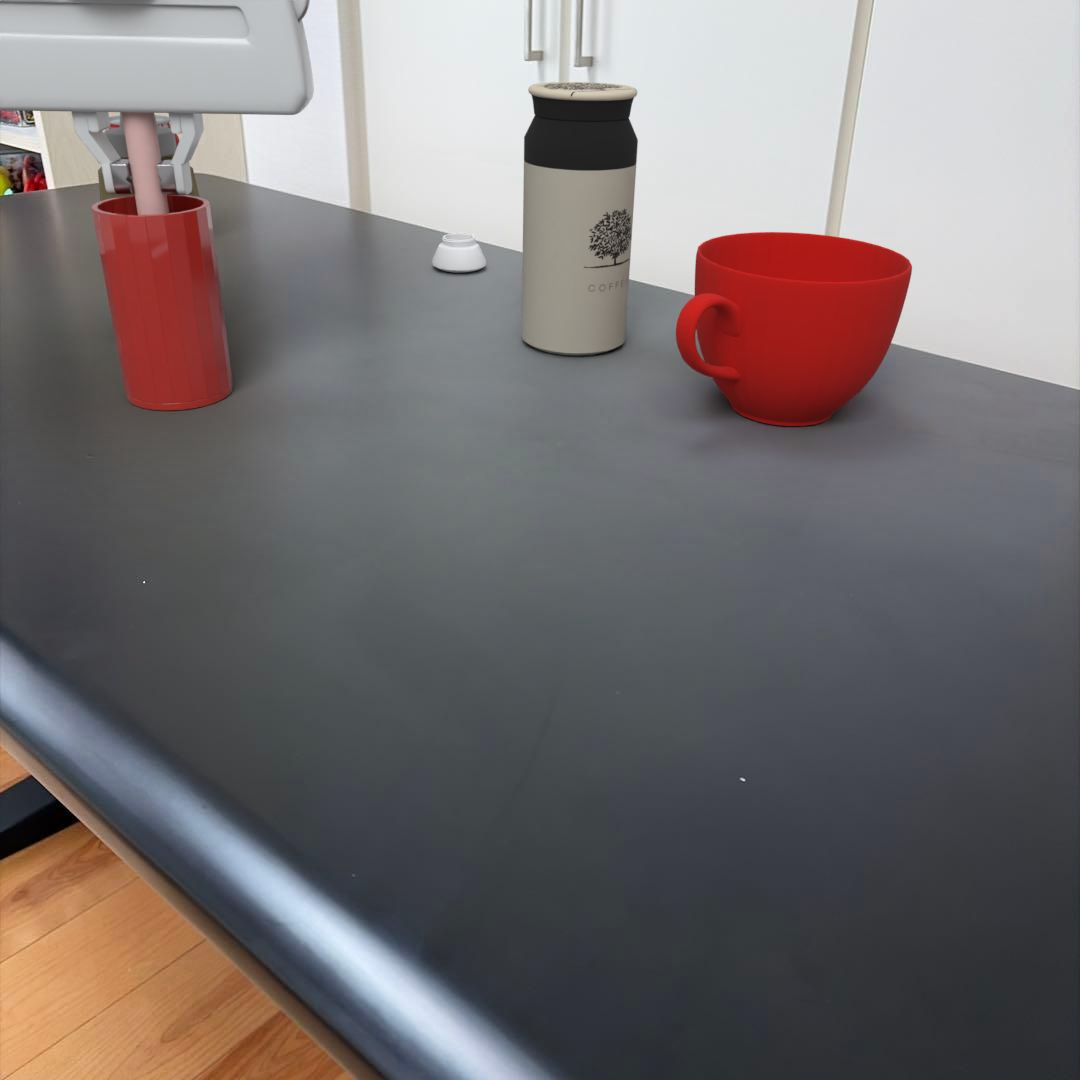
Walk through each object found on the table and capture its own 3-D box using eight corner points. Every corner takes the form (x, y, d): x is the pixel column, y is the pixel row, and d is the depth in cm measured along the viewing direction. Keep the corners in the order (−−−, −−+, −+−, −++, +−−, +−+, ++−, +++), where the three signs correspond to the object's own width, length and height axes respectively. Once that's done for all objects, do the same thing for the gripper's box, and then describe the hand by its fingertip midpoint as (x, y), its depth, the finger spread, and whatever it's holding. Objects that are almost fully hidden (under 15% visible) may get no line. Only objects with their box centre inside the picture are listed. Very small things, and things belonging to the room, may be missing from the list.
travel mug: (504, 332, 80) (505, 82, 72) (592, 321, 84) (603, 80, 75) (551, 364, 74) (559, 94, 66) (644, 349, 78) (663, 91, 69)
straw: (152, 328, 65) (109, 68, 58) (160, 320, 66) (119, 65, 59) (181, 328, 65) (142, 68, 58) (188, 320, 66) (151, 66, 59)
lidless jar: (426, 273, 96) (478, 276, 95) (425, 240, 94) (478, 244, 94) (440, 260, 100) (490, 263, 100) (440, 229, 99) (490, 232, 98)
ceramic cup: (598, 413, 66) (606, 257, 61) (766, 362, 76) (784, 223, 71) (755, 483, 57) (779, 307, 53) (922, 415, 67) (955, 261, 62)
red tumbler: (112, 410, 65) (75, 215, 59) (142, 374, 71) (111, 193, 65) (221, 410, 65) (194, 216, 59) (241, 374, 71) (219, 194, 65)
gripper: (312, -68, 58) (331, 185, 65) (-59, -78, 57) (-1, 181, 64) (295, -72, 53) (318, 205, 60) (-116, -83, 52) (-46, 201, 58)
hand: (150, 193), depth 62 cm, fingers closed on straw, 2 cm apart
